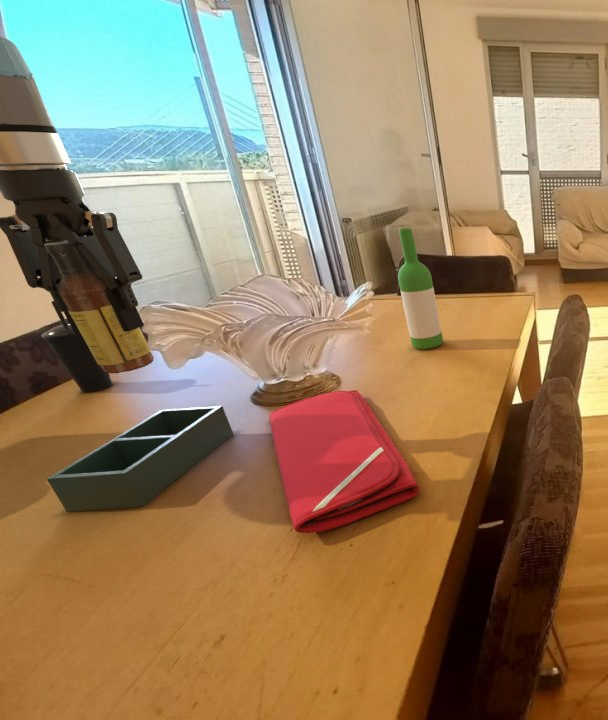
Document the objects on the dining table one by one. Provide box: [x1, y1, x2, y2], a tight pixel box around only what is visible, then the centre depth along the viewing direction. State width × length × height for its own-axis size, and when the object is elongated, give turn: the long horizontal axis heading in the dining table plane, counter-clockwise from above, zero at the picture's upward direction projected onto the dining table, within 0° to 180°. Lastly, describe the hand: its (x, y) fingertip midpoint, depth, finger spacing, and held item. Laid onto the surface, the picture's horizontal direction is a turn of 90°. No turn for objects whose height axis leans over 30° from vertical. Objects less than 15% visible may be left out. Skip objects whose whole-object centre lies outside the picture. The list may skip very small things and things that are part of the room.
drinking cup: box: [41, 300, 113, 393], centre depth 102 cm, size 8×8×20 cm
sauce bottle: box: [44, 240, 154, 374], centre depth 71 cm, size 6×6×20 cm
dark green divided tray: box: [46, 405, 234, 513], centre depth 75 cm, size 10×20×6 cm, turn 5°
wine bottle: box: [397, 227, 444, 351], centre depth 119 cm, size 8×8×30 cm
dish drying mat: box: [268, 389, 419, 534], centre depth 78 cm, size 16×41×4 cm, turn 38°
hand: (110, 329), depth 73 cm, fingers closed on sauce bottle, 6 cm apart
